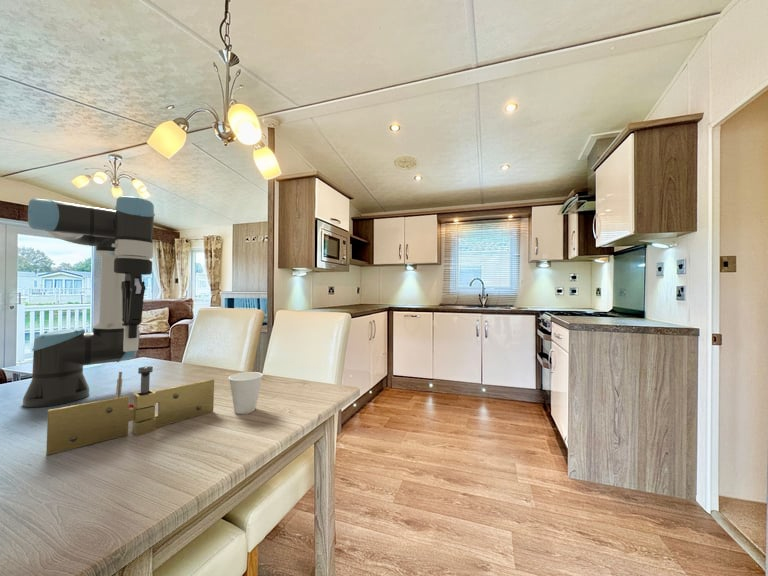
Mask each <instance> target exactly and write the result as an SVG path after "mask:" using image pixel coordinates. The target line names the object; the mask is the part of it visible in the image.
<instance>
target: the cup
mask: <svg viewBox="0 0 768 576" xmlns="http://www.w3.org/2000/svg"><path fill="white" fill-rule="evenodd" d="M263 376H264V374H263V373H262V372H257V371H245V372H238V373H234V374H231V375H229V376H228V380H229V384H230V385H229V386H230V391H231V392H230V393H231V397H232V404H233V411H234V413H235V414H237V415H246V414H247V415H248V414H251V413H253V412H254V411H255V410H256V409H257V404H258V398H259V394H260V389H261V384H262V379H263Z"/></svg>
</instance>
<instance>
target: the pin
mask: <svg viewBox="0 0 768 576" xmlns="http://www.w3.org/2000/svg"><path fill="white" fill-rule="evenodd" d="M153 371H154V368H153V366H152V365H151V366H150V365H149V366H141V367H138V374H139V375H140V392H141V395H146V394H149V390H150V377H151V376H150V375H151V373H153ZM141 395H140V396H141ZM145 408H147V407H145ZM141 409H142V408H141Z"/></svg>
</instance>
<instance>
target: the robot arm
mask: <svg viewBox="0 0 768 576" xmlns="http://www.w3.org/2000/svg"><path fill="white" fill-rule="evenodd" d="M27 207H28V208H27V222H28V226H29V227H30V228H31V229H33V230H37V231H38V230H39V231H45V232H48V233H49V234H50V235H51V236H52V237H54V238H57V239H60V240H63V241H65V242H67V243H72V244H76V245H81V246H89V247H95V252H96V253H97V254H98V255H99V256H100V257H101V267H100V294H99V315H98V317H99V318H98V323H96V324H95V325H94V326H92V331H86V330H85V329H84V328H82V327H81V328H80V327H79V328H70V329H62V330H61V329H60V330H56V331H49V332H46V333H41V334H39V335H37V336H36V337H35V338H34V341H33V348H32V351H33V355H32V356H33V359H32V374H31V382H30V383H29V386H28V388H27V390H26V391H25V393H24V396H23V397H22V407H26V408H44V407H51V406H58V405H63V404H67V403H71V402H76V401H79V400H82V399H84V398H86V397H88V396H89V395H90V386H89V385H88V383H87V380H86V378H85V375H84V366H91V365H98V364H99V365H100V364H108V363H115V362H116V363H119V362H124V361H130V360H132V359H134V357H135V356H136V354H137V352H138V351H139V344H140V335H141V332H140V325H141V324H142V321H143V319H142V318H143V308H144V297H145V292H146V285H145V281H143V276H142V275H152V273H153V261H152V260H151V259H152V258H153V257H154V241H153V239H154V236H153V235H154V219H155V215H156V214H155V211H154V210H155V208H154V207H155V205H154V204H153V202H151V201H150V200H148V199H145V198H142V197H136V196H131V195H130V196H128V195H122V196H121V195H120V196H119V197H117V198H116V205H115V210H113V209H107V208H101V207H94V206H87V205H83V204H76V203H70V202H64V201H58V200H53V199H43V198H34V197H33V198H31V199H30V200H29V201H28V206H27Z"/></svg>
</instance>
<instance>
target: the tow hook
mask: <svg viewBox="0 0 768 576" xmlns="http://www.w3.org/2000/svg"><path fill="white" fill-rule="evenodd" d="M122 390H123V372H122V371H118V377H117V380H116V391H115V398H118V397H122ZM131 408H134V406H133V403H129V409H131Z"/></svg>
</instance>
